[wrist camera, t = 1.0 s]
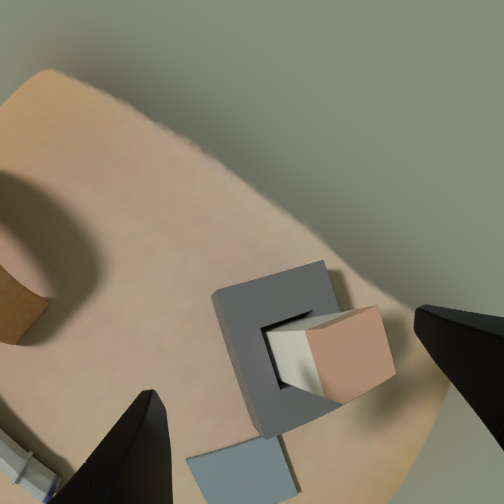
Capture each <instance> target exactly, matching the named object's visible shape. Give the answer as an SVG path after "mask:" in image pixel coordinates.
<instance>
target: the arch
mask: <svg viewBox="0 0 504 504" xmlns="http://www.w3.org/2000/svg"><path fill="white" fill-rule="evenodd" d="M45 301H46V300H45V298H44V297H41V296H39V295H37V294H35V293H34V292H32V291H30V290H29V289H28V288H26V287H25V286H23V285H22V284H21V283H19V282H18V281H17V280H16V279H15V278H14V277H12V276H11V275H10V274H9V273H8V272H7V271H6V270H5V269H4V268H3V267H2V266H1V265H0V342H3V343H7V344H11V345H15V344H16V343H17V342H18V340H19V339H20V338H21V337H22V336H23V334H24V333H25V332H26V331H27V330H28V328H29V327H30V326H31V325H32V324H33V323H34V321H35V320H36V319H37V318H38V317H39V316H40V315H41V313H42V312H43V311H44V310H45V309H46V308H47V307H48V306H49V303H48V302H45Z"/></svg>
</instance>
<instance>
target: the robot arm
mask: <svg viewBox="0 0 504 504" xmlns="http://www.w3.org/2000/svg"><path fill="white" fill-rule="evenodd" d="M414 332H415V334H416V335H417V337H418V338H419V340H420V341H421V342H422V344H423V345H424V347H425V348H426V350H427V351H428V353H429V354H430V356H431V357H432V359H433V360H434V361H435V363H436V364H437V365H438V367H439V368H440V369H441V370H442V371H443V373H444V374H445V375H446V376H447V377H448V379H449V380H450V381H451V382H452V383H453V385H454V386H455V387H456V388H457V390H458V391H459V392H460V393H461V395H462V396H463V397H464V398H465V400H466V401H467V402H468V403H469V405H470V406H471V407H472V408H473V410H474V411H475V412H476V414H477V415H478V416H479V417H480V419H481V420H482V422H483V423H484V424H485V426H486V427H487V428H488V430H489V431H490V432H491V434H492V435H493V436H494V438H495V439H496V441H497V442H498V444H499V445H500V446H501V448H502V449H503V451H504V317H498V316H491V315H485V314H479V313H473V312H467V311H461V310H456V309H449V308H444V307H438V306H433V305H427V304H425V305H422V306H420V307H418V308H417V309H416V310H415V318H414ZM47 504H173V493H172V460H171V446H170V438H169V431H168V422H167V413H166V409H165V406H164V405H163V403H162V401H161V399H160V398H159V396H158V394H157V392H156V391H155V390H153V389H150V390H144V391H142V392H141V393H140V394H139V395H138V396H137V398H136V399H135V400H134V401H133V403H132V404H131V405H130V406H129V408H128V409H127V410H126V411H125V413H124V414H123V415H122V416H121V418H120V419H119V420H118V421H117V423H116V424H115V425H114V426H113V427H112V429H111V430H110V431H109V432H108V434H107V435H106V436H105V437H104V439H103V440H102V441H101V442H100V444H99V445H98V446H97V447H96V449H95V450H94V451H93V452H92V454H91V455H90V456H89V457H88V459H87V460H86V463H83V465H82V466H81V467H80V468H79V470H78V471H77V472H76V473H75V474H74V476H73V477H72V478H71V479H70V480H69V481H68V482H67V483H66V485H65V486H64V487H63V488H62V489H61V490H60V491H59V492H58V493H57V494H56V495H55V496H54V497H53V498H52V499H51V500H50V501H49V502H48V503H47Z"/></svg>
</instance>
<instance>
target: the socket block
mask: <svg viewBox="0 0 504 504" xmlns="http://www.w3.org/2000/svg"><path fill="white" fill-rule="evenodd" d="M211 298H212V301H213V305H214V308H215V311H216V315H217V318H218V321H219V324H220V328H221V331H222V334H223V337H224V340H225V344H226V347H227V350H228V353H229V356H230V359H231V362H232V365H233V368H234V371H235V374H236V377H237V380H238V383H239V386H240V389H241V392H242V395H243V398H244V401H245V403H246V406H247V409H248V412H249V415H250V417H251V420H252V423H253V426H254V428H255V429H256V430H257V431H258V432H259V433H260V434H261V436H262V437H263V438H264V439H265V440H267V439H270V438H273V437H275V436H278V435H280V434H283V433H285V432H287V431H290V430H292V429H294V428H297V427H299V426H301V425H304V424H306V423H308V422H310V421H312V420H314V419H317V418H319V417H321V416H323V415H325V414H327V413H329V412H331V411H333V410H335V409H337V408H339V407H341V406H343V405H344V404H341V403H338V402H335V401H333V400H330V399H327V398H324V397H321V396H319V395H316V394H313V393H311V392H308V391H305V390H303V389H300V388H298V387H295V386H293V385H290V384H288V383H285V382H283V381H280V380H278V379H276V376H275V373H274V370H273V367H272V364H271V361H270V358H269V355H268V351H267V348H266V345H265V342H264V339H263V336H262V333H261V329H260V328H261V327H264V326H267V325H270V324H273V323H276V322H279V321H282V320H285V319H288V318H291V317H294V316H297V317H298V319H304V318H310V317H316V316H322V315H328V314H334V313H339V312H340V309H339V306H338V303H337V299H336V296H335V293H334V290H333V287H332V284H331V281H330V278H329V275H328V272H327V269H326V266H325V263H324V260H321V261H318V262H314V263H311V264H307V265H304V266H301V267H297V268H294V269H290V270H287V271H283V272H280V273H276V274H273V275H269V276H266V277H262V278H259V279H255V280H251V281H248V282H244V283H240V284H237V285H233V286H230V287H226V288H222V289H218V290H216V291H215V292H214V293H213V294H212V296H211ZM362 395H363V394H362ZM360 396H361V395H360ZM353 400H354V399H353ZM351 401H352V400H351Z"/></svg>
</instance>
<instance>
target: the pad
mask: <svg viewBox="0 0 504 504" xmlns="http://www.w3.org/2000/svg"><path fill="white" fill-rule="evenodd" d="M186 461H187V464H188V466H189V468H190V470H191V472H192V474H193V476H194V478H195V480H196V482H197V484H198V486H199V488H200V490H201V492H202V494H203V496H204V498H205V499H206V501H207V503H208V504H277V503H280V502H282V501H285V500H287V499H290V498H292V497H294V496H297V495H298V493H297V490H296V488H295V485H294V482H293V480H292V477H291V474H290V472H289V469H288V466H287V463H286V461H285V458H284V455H283V452H282V450H281V447H280V444H279V441H278V438H277V436H275V437H273V438H270V439H267V440H265V439H264V438H263V437H262V436H261V435H260V436H258V437H255V438H252V439H249V440H246V441H244V442H241V443H238V444H235V445H231V446H228V447H225V448H222V449H219V450H215V451H212V452H208V453H205V454H201V455H197V456H193V457H189V458H186Z"/></svg>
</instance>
